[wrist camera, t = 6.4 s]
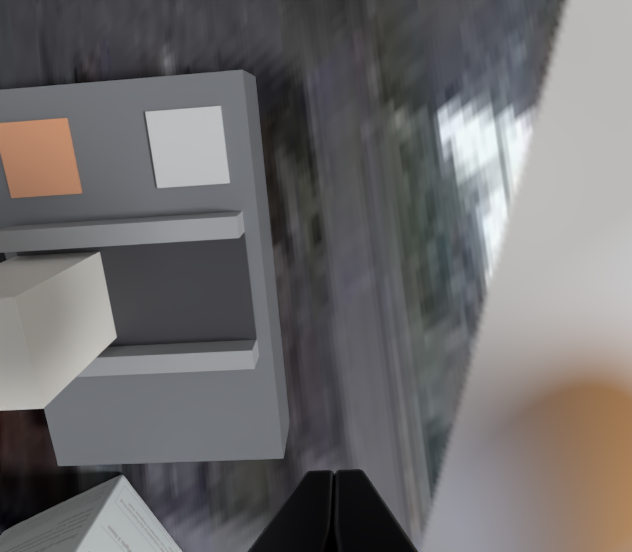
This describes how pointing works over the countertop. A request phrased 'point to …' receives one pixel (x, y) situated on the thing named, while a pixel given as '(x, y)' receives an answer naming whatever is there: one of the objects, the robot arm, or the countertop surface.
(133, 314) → the switch board
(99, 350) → the switch tab
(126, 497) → the supplement box
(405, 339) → the countertop surface
